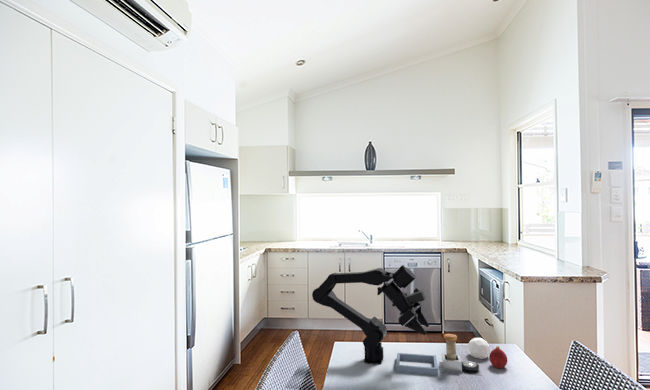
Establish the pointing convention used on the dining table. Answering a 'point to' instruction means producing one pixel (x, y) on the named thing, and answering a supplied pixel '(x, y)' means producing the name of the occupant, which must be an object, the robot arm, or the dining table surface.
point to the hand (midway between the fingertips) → (426, 330)
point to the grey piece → (458, 366)
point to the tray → (416, 368)
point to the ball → (478, 348)
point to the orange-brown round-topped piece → (450, 346)
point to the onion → (498, 358)
